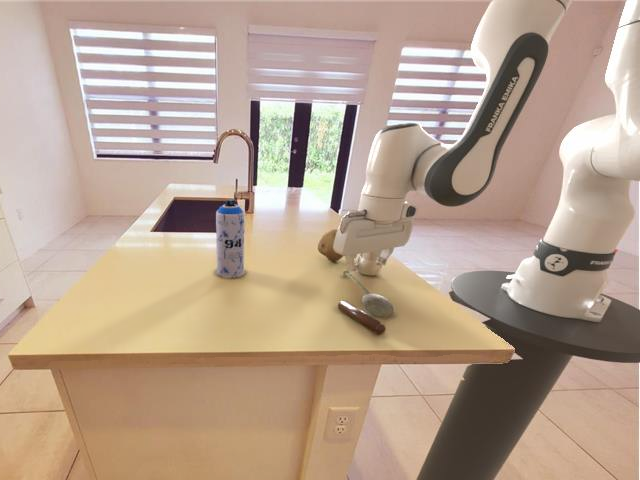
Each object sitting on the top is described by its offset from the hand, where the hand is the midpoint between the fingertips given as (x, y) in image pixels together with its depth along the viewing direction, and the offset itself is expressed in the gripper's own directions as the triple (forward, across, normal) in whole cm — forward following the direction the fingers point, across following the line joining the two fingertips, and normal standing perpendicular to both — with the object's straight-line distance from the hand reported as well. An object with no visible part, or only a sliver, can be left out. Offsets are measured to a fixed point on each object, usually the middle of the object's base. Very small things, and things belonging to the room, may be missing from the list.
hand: (366, 267), depth 74 cm
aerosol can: (+8, -24, +26) cm, 36 cm away
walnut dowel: (+7, -10, -9) cm, 15 cm away
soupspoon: (+7, 0, 0) cm, 7 cm away
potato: (+7, +8, +21) cm, 23 cm away
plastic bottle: (+7, +11, +9) cm, 16 cm away
